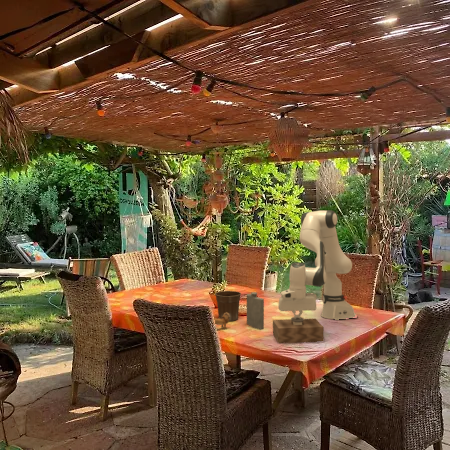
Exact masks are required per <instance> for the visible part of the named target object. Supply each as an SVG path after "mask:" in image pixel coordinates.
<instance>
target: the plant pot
mask: <svg viewBox="0 0 450 450" xmlns="http://www.w3.org/2000/svg"><path fill="white" fill-rule="evenodd" d="M241 295H242V292H240V291H236V290H223V291H217V292H215V294H214V296H215V299H216V300H215V301H216V305H217V316H218V319H220V318H221V317H222V316H223V314H224V313H229V315H230V319H229V322H233V321H236V320H237V321H238V319H239V313H240V312H239V309H240V300H241Z"/></svg>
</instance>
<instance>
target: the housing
mask: <svg viewBox="0 0 450 450" xmlns="http://www.w3.org/2000/svg"><path fill="white" fill-rule="evenodd" d="M324 331H325V327H324V325H322V324H321V323H320V321H318V319H316V318H304V321H303V322H302V325H293V321H291V318H290V319H287V318H285V319H272V335H273V337H274V338H275V340H276V342H277V344H295V343H296V344H298V343H301V344H303V343H304V342H306V343H318V342H317V341H324V338H325V337H324V335H325V334H324V333H325V332H324Z"/></svg>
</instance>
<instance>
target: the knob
mask: <svg viewBox="0 0 450 450" xmlns="http://www.w3.org/2000/svg"><path fill="white" fill-rule="evenodd" d="M290 319H291V321H293V325H302V322H303V321H304V319H305V318H304V317H301V316H300V319H295V318H294V316H292V317H291V318H290Z"/></svg>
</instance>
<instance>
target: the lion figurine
mask: <svg viewBox="0 0 450 450" xmlns="http://www.w3.org/2000/svg"><path fill="white" fill-rule="evenodd" d="M213 319H214V320H215V324H216V326H217V325H218V326H221V329H222V328H223V329H224V330H225V329H226V330H227V324H228V323H229V322H230V321H229V319H230V315H229V313H224V314H223V316H222V317H221V318H220V319H219V318H213Z"/></svg>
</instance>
